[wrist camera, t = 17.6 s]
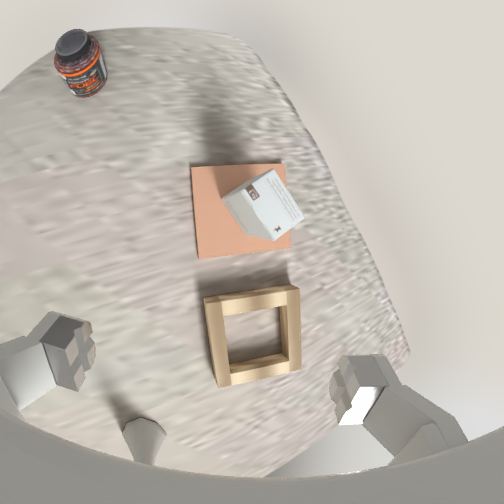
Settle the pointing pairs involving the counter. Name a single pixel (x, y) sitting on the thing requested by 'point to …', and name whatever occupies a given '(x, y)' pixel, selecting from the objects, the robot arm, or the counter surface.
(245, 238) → the terracotta tile
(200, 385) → the counter surface
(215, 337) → the light wooden square frame
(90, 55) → the supplement bottle
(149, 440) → the flask
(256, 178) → the skincare box
